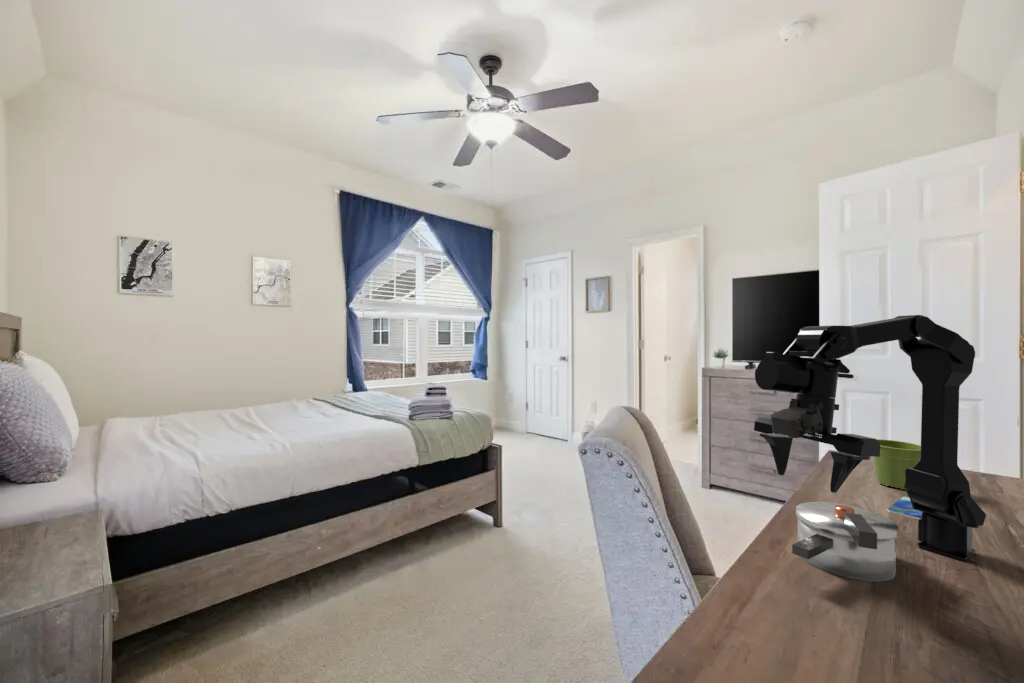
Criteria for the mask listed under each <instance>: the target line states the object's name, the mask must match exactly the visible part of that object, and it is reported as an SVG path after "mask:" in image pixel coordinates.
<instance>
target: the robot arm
mask: <svg viewBox="0 0 1024 683" xmlns="http://www.w3.org/2000/svg"><path fill="white" fill-rule="evenodd" d="M918 338H919V339H918ZM893 341H894V342H895V341H898V346H899V349H900V350H901V351H902V352H904V353H905V354H906V355H907V356H908V357H909V358H910V363H911V364H910V365H911V370H912V371H913V374H914V375H915V376H916V377H917V379H918V380H919V382H920V383H921V385H922V386H921V424H920V425H921V426H920V427H921V428H920V446H921V457H920V461H919V462H918V463H917V464H916V465H915V466H914V467H913V468H907V469H906V471H905V475H906V482H905V485H904V488H906V489H905V490H906V494H907V497H909V498H910V501H911V504H912V507H913V509H915V510H919V511H921V512H923V513H922V518H921V519H919V520H918V521H917V540H918V541H919V543H917V547H919V548H921V549H925V550H928V551H931V552H933V553H934V552H935V553H938V554H940V555H944V556H946V557H951V558H954V559H957V560H961V561H966V560H968V559H969V558H971V557H972V556H973V555H974V554H975V553H976V549H975V548H973V529H979V527H982V526H984V524H985V521H986V517H987V513H986V512H985V511H984V510H983V509H982V508H981V507H980V505H978V503H977V502H976V501H975V500H974V499H973V498H972V497H971V489H970V487H971V486H970V482H969V480H968V479H967V477H966V476H965V474H964V472H963V471H962V470H961V468H960V467H959V465H958V458H959V457H958V455H959V454H958V452H959V451H958V449H959V445H958V444H959V416H960V415H959V413H960V412H959V410H960V388H961V387H960V386H961V385H963V383H964V382H965V381H966V380H967V379H968V378H969V376H971V373H972V372H973V367H974V362H975V357H976V351H975V347H974V346H973V345H972V344H971V343H970V342H969V341H968V340H966V339H965V338H963V337H962V336H961V335H960V334H959V333H957V332H955V331H953V330H951V329H948V328H947V327H944V326H943V325H939V324H937V323H936V322H935V321H933V320H932V319H931V318H929V317H928V316H926V315H925V316H924V315H922V314H913V315H912V314H911V315H910V314H908V315H898V316H895V317H893V318H892V317H891V318H888V319H881V320H876V321H870V322H865V323H860V324H853V325H812V326H811V325H810V326H809V325H808V326H804V327H802V328H800V329H799V332H798V333H797V335H796V338H795V339H794V340H793V341H792V343H791V344H790V345H789V346H788V347H787V348H786V349H785V351H784V352H783V353H782V352H778V351H766V352H765V357H764V358H763V359H762V360H760V361H759V363H758V364H757V367H756V368H755V370H754V380H755V383H756V385H757V387H759V389H762V390H765V391H773V392H780V393H790V394H796V397H795V398H793V397H792V398H790V401H789V406H788V408H783V409H780V410H778V411H776V412H774V413H772V414H770V417H769V416H758V417H757V418H756V420H755V421H754V423H753V431H755V432H759V433H758V434H759V437H761V438H763V439H764V440H765V442H766V443H768V445H769V446H770V447H769V448H770V449H771V452H772V455H773V459H774V463H775V467H776V471H777V474H778V475H779V476H784V475H785V473H786V470H787V467H788V463H789V458H790V454H791V449H792V444H793V439H799V438H801V439H804V440H805V439H806V440H809V441H814V442H818V443H823V444H827V445H831V446H833V447H834V449H835V450H836V451H830V455H831V457H832V460H833V465H832V471H831V478H830V483H829V484H830V488H829V489H830V490H829V491H830V493H833V494H834V493H835V494H836V493H838V491H839V489H840V488H841V487H842V485H843V484H844V483H845V481H846V479H847V478H848V477H849V476H850V474H851V473H852V472H853V471H854V469H856V468H857V466H859V465H860V463H861V462H863V461H869V460H870V459H871V458H872V457H873V458H874V457H880V448H881V447H880V444H879V442H878V441H877V438H874V437H868V436H864V435H859V434H856V433H855V434H854V433H837V429H838V428H837V427H835V426H833V422H834V417H835V416H834V414H835V411H839V410H840V404H837V403H836V396H837V388H838V378H839V374H850V372H851V370H850V369H849V368H848V367H847V366H846V365H845V364H844V363H843V361H842V360H841V358H843V357H846V356H848V355H850V354H851V355H852V354H853V353H855V352H856V351H857V349H858V350H859V348H862V347H865V346H871V345H878V344H882V343H887V342H893Z"/></svg>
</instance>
